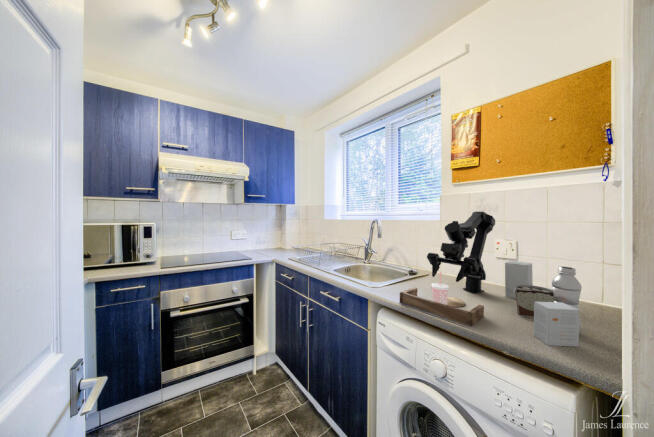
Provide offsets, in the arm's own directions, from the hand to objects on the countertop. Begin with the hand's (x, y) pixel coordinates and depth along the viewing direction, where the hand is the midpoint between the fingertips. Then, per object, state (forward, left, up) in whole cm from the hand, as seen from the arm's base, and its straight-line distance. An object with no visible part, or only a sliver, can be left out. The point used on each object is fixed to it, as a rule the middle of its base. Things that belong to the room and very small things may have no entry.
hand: (444, 278), depth 94 cm
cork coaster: (-6, -2, -11) cm, 13 cm away
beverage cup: (+3, +1, -11) cm, 12 cm away
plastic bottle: (-19, +29, -11) cm, 36 cm away
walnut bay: (+3, +1, -11) cm, 11 cm away
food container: (-24, +17, -11) cm, 31 cm away
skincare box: (-38, +5, -11) cm, 40 cm away
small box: (-9, +31, -11) cm, 34 cm away
